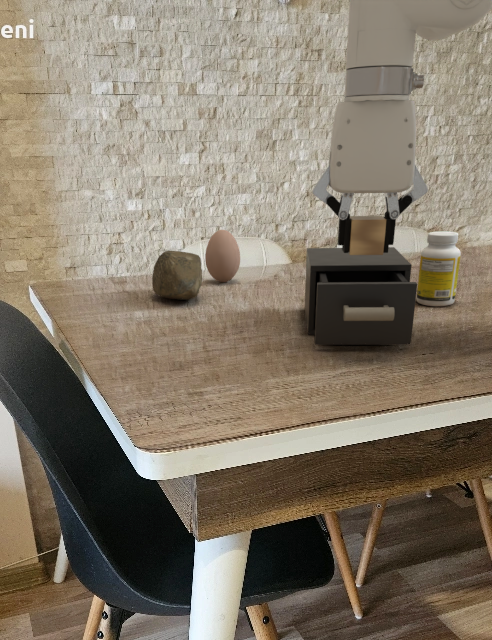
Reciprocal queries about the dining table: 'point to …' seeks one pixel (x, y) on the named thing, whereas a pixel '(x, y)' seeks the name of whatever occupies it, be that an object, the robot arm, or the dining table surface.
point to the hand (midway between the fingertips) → (364, 249)
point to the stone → (177, 275)
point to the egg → (222, 256)
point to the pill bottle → (439, 269)
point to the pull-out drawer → (364, 308)
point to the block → (367, 235)
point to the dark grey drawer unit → (345, 262)
